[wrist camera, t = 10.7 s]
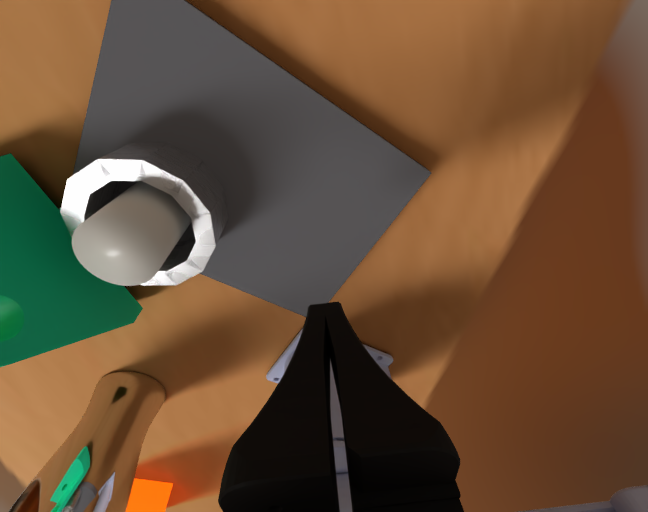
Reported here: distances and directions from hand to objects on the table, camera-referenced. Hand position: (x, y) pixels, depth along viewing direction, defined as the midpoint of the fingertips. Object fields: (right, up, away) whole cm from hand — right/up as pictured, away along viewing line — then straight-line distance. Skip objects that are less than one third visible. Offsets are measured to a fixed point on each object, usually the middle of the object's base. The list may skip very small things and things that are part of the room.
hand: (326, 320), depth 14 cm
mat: (-5, +7, +6) cm, 11 cm away
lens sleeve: (-10, +7, +6) cm, 13 cm away
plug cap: (-10, +6, +5) cm, 13 cm away
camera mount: (-19, +3, +8) cm, 21 cm away
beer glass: (-18, -10, +16) cm, 27 cm away
